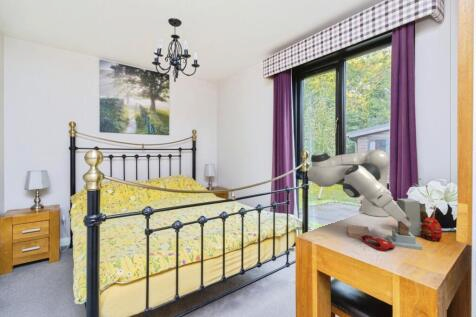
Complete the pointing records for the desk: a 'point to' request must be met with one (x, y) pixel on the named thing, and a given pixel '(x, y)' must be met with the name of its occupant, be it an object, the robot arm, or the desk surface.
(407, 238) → the grey square socket base
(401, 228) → the post
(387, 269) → the desk surface
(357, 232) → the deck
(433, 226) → the red clay folk toy
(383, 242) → the tracker holder
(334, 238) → the desk surface
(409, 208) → the skincare box
